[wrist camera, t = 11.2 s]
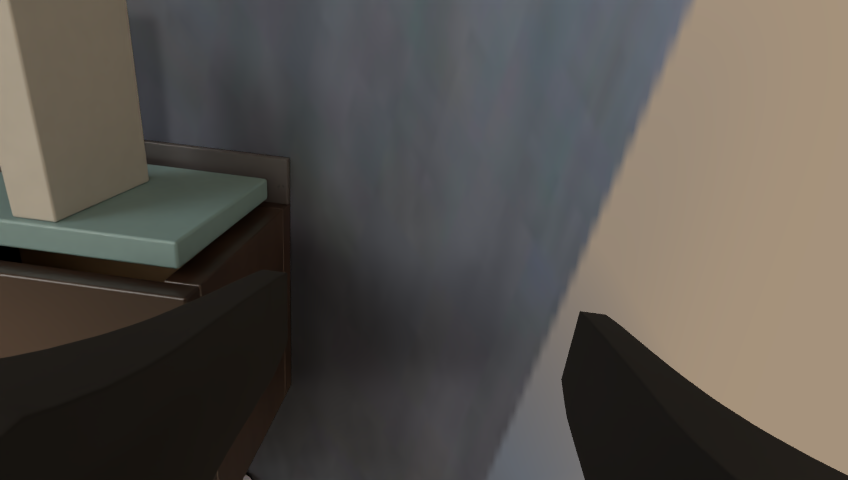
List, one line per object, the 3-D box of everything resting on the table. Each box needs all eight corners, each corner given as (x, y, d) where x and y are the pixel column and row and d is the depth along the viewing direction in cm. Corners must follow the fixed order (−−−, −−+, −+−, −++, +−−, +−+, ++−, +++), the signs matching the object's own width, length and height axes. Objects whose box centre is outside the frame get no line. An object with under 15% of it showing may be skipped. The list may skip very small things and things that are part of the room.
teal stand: (268, 198, 18) (178, 270, 12) (68, 173, 18) (-108, 232, 13) (263, 5, 15) (147, -16, 10) (30, -22, 16) (-212, -55, 10)
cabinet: (291, 384, 22) (211, 542, 15) (-37, 338, 23) (-260, 470, 16) (289, 157, 18) (178, 231, 11) (-114, 107, 19) (-462, 148, 12)
